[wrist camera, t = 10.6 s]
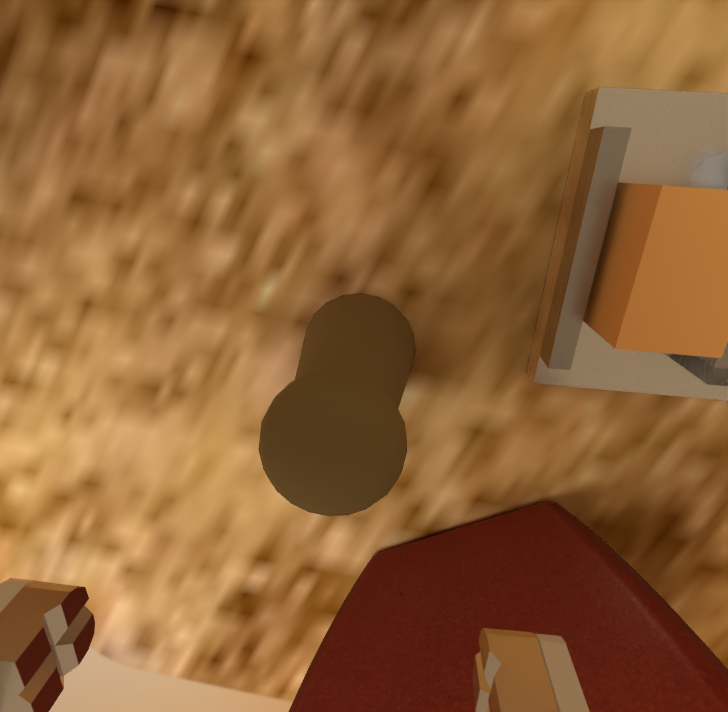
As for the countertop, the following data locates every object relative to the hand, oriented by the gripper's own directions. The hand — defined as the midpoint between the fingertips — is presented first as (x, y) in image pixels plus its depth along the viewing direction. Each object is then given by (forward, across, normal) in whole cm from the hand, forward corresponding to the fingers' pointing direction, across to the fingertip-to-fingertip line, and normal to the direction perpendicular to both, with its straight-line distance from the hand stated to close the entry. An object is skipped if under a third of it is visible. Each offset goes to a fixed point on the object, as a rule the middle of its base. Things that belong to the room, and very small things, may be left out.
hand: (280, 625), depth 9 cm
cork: (+17, 0, 0) cm, 17 cm away
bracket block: (+15, -13, -6) cm, 20 cm away
